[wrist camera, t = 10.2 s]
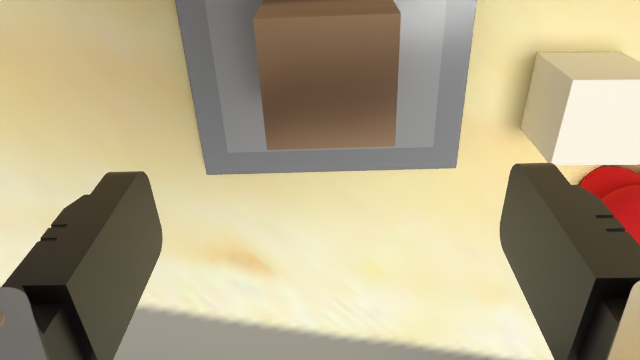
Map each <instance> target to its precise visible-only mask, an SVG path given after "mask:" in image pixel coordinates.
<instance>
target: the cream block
mask: <svg viewBox="0 0 640 360" xmlns="http://www.w3.org/2000/svg"><path fill="white" fill-rule="evenodd" d="M520 129H521V130H522V131H523V132H524V134H525V135H526V136H527V137H528V138H529V140H530V141H531V142H532V143H533V145H534V146H535V147H536V148H537V149H538V151H539V152H540V153H541V154H542V156H543V157H544V158H545V159H546V160H547V162H548V163H553V164H554V165H640V62H639V61H637V60H635V59H634V58H632V57H630V56H628V55H626V54H624V53H623V52H538V53H537V55H536V60H535V64H534V69H533V73H532V78H531V82H530V87H529V91H528V96H527V101H526V105H525V110H524V114H523V119H522V123H521V128H520Z"/></svg>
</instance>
